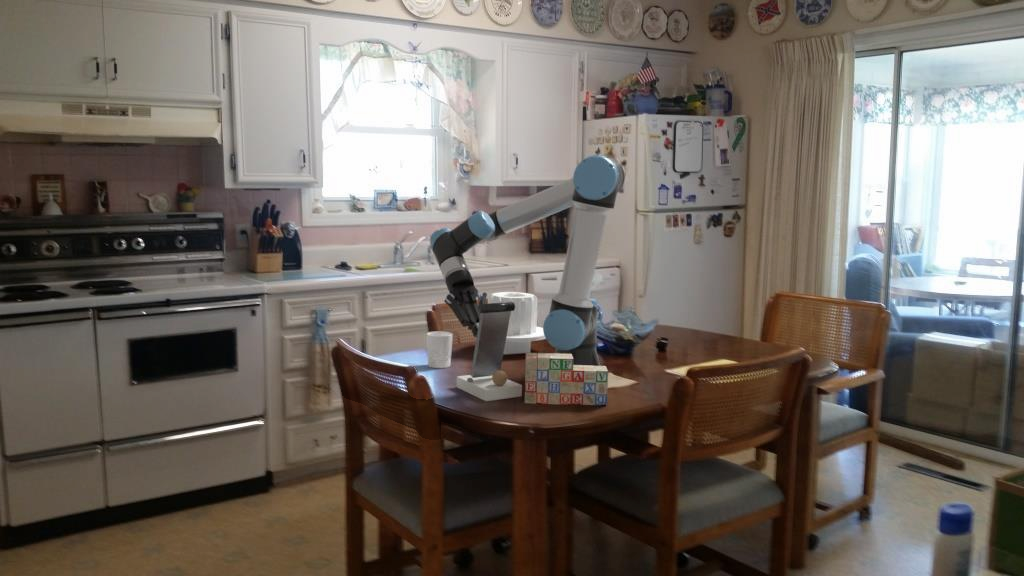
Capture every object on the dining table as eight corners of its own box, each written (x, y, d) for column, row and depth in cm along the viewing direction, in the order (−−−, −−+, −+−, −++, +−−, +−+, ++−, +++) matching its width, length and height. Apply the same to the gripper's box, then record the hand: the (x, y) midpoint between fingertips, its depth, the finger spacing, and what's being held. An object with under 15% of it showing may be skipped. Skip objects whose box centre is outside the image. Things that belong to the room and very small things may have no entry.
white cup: (448, 369, 247) (448, 337, 245) (422, 367, 248) (423, 335, 247) (455, 364, 254) (455, 332, 253) (430, 362, 256) (431, 330, 254)
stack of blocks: (604, 400, 218) (606, 354, 217) (606, 406, 212) (608, 359, 210) (524, 397, 219) (525, 351, 217) (523, 403, 213) (525, 357, 211)
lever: (467, 374, 222) (478, 302, 215) (498, 371, 228) (511, 300, 220) (471, 379, 220) (483, 306, 213) (503, 375, 226) (515, 304, 218)
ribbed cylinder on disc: (528, 341, 292) (530, 288, 290) (561, 356, 270) (563, 299, 267) (463, 345, 282) (464, 290, 279) (491, 361, 260) (493, 301, 257)
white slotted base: (456, 387, 227) (457, 362, 226) (490, 382, 232) (491, 358, 232) (486, 401, 213) (486, 374, 212) (521, 396, 219) (522, 370, 218)
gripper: (472, 283, 240) (500, 350, 228) (432, 285, 233) (459, 355, 221) (482, 267, 235) (511, 335, 223) (441, 269, 228) (469, 339, 216)
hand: (485, 345), depth 222 cm, fingers closed
